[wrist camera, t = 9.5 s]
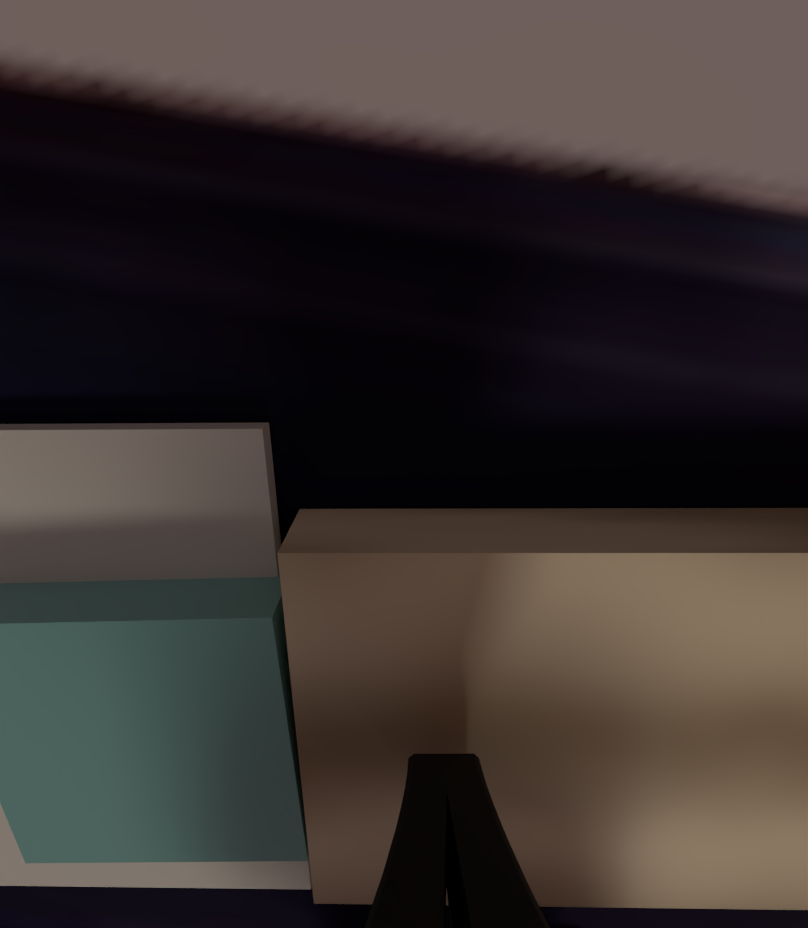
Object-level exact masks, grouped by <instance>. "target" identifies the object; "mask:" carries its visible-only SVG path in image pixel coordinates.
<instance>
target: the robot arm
mask: <svg viewBox="0 0 808 928" xmlns="http://www.w3.org/2000/svg"><path fill="white" fill-rule="evenodd" d="M446 889H447V897H448V905H449V913H450V922H451V928H550V927H549V925H548V923H547V921H546V919H545V917H544V915H543V913H542V911H541V909H540V907H539V905H538V903H537V901H536V899H535V897H534V895H533V893H532V891H531V889H530V887H529V885H528V883H527V880H526V878H525V876H524V874H523V872H522V869H521V867H520V865H519V863H518V861H517V858H516V856H515V854H514V852H513V850H512V847H511V845H510V843H509V841H508V838H507V836H506V834H505V831H504V829H503V826H502V824H501V821H500V819H499V816H498V814H497V811H496V809H495V806H494V804H493V801H492V798H491V795H490V793H489V790H488V787H487V784H486V781H485V777H484V774H483V771H482V767H481V764H480V760H479V758H478V757H477V756H476V755H475V754H413V755H412V756H410V757H409V758H408V770H407V777H406V784H405V790H404V795H403V800H402V805H401V809H400V813H399V817H398V822H397V826H396V829H395V833H394V836H393V840H392V843H391V847H390V850H389V854H388V857H387V861H386V864H385V868H384V871H383V874H382V877H381V880H380V883H379V886H378V889H377V892H376V895H375V898H374V901H373V904H372V906H371V909H370V912H369V915H368V918H367V921H366V924H365V927H364V928H445V926H446Z"/></svg>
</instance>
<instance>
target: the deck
mask: <svg viewBox="0 0 808 928" xmlns="http://www.w3.org/2000/svg"><path fill="white" fill-rule="evenodd" d="M277 555H278V564H279V574H280V583H281V593H282V603H283V612H284V622H285V631H286V641H287V650H288V660H289V669H290V679H291V689H292V698H293V708H294V717H295V727H296V736H297V746H298V755H299V765H300V775H301V784H302V794H303V803H304V813H305V822H306V832H307V841H308V851H309V861H310V870H311V880H312V889H313V899H314V904H373V901H374V898H375V895H376V892H377V889H378V886H379V883H380V880H381V877H382V874H383V871H384V868H385V864H386V861H387V857H388V854H389V850H390V847H391V843H392V840H393V836H394V833H395V829H396V826H397V822H398V817H399V813H400V809H401V805H402V800H403V795H404V790H405V784H406V777H407V770H408V758H409V757H410V756H412V755H413V754H475V755H476V756H477V757H478V758H479V760H480V764H481V767H482V771H483V774H484V777H485V781H486V784H487V787H488V790H489V793H490V795H491V798H492V801H493V804H494V806H495V809H496V811H497V814H498V816H499V819H500V821H501V824H502V826H503V829H504V831H505V834H506V836H507V838H508V841H509V843H510V845H511V847H512V850H513V852H514V854H515V856H516V858H517V861H518V863H519V865H520V867H521V869H522V872H523V874H524V876H525V878H526V880H527V883H528V885H529V887H530V889H531V891H532V893H533V895H534V897H535V899H536V901H537V903H538V905H539V907H617V908H694V909H771V910H808V508H496V509H300V510H299V511H298V513H297V515H296V517H295V519H294V521H293V523H292V525H291V527H290V529H289V531H288V533H287V535H286V537H285V539H284V541H283V543H282V545H281V547H280V549H279V551H278V553H277ZM446 905H448V897H447V889H446Z"/></svg>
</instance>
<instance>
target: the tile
mask: <svg viewBox="0 0 808 928" xmlns="http://www.w3.org/2000/svg"><path fill="white" fill-rule="evenodd" d="M0 804H1V806H2V808H3V811H4V813H5V816H6V818H7V820H8V823H9V825H10V828H11V830H12V832H13V835H14V837H15V840H16V842H17V844H18V847H19V849H20V852H21V854H22V856H23V859H24V861H25V863H128V862H252V861H308V857H309V851H308V841H307V832H306V822H305V813H304V803H303V794H302V784H301V775H300V765H299V755H298V746H297V736H296V727H295V717H294V708H293V698H292V689H291V679H290V669H289V660H288V650H287V641H286V631H285V622H284V612H283V603H282V593H281V583H280V577H248V578H207V579H165V580H124V581H83V582H42V583H0Z"/></svg>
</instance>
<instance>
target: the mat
mask: <svg viewBox="0 0 808 928" xmlns="http://www.w3.org/2000/svg"><path fill="white" fill-rule="evenodd" d="M280 547H281V537H280V527H279V517H278V508H277V498H276V488H275V478H274V468H273V458H272V448H271V438H270V428H269V423H95V424H0V583H42V582H83V581H124V580H165V579H207V578H248V577H280V574H279V564H278V555H277V553H278V551H279V549H280ZM0 886H77V887H157V888H238V889H311V887H312V880H311V870H310V861H309V857H308V861H252V862H128V863H25V861H24V859H23V856H22V854H21V852H20V849H19V847H18V844H17V842H16V840H15V837H14V835H13V832H12V830H11V828H10V825H9V823H8V820H7V818H6V816H5V813H4V811H3V808H2V806H1V804H0Z"/></svg>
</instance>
